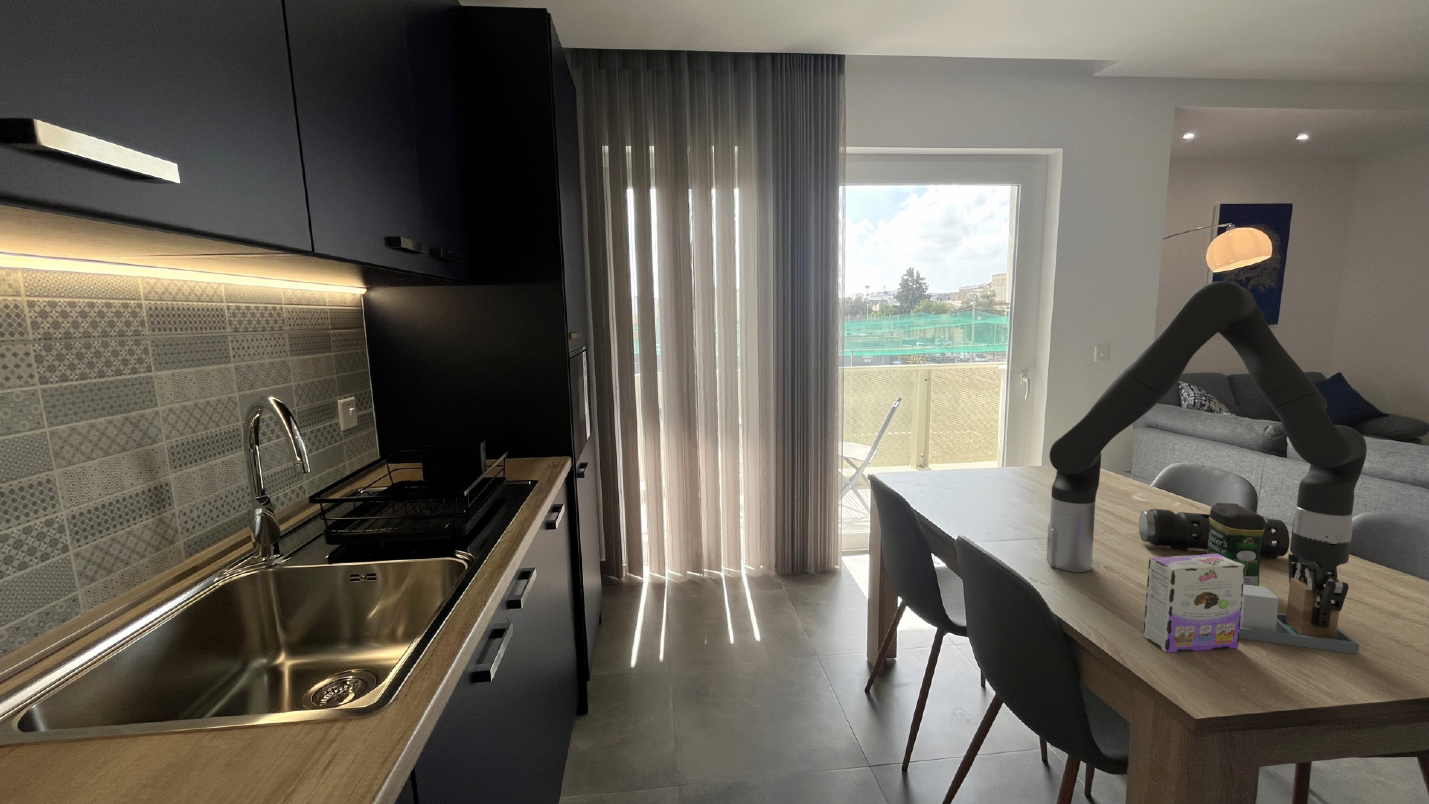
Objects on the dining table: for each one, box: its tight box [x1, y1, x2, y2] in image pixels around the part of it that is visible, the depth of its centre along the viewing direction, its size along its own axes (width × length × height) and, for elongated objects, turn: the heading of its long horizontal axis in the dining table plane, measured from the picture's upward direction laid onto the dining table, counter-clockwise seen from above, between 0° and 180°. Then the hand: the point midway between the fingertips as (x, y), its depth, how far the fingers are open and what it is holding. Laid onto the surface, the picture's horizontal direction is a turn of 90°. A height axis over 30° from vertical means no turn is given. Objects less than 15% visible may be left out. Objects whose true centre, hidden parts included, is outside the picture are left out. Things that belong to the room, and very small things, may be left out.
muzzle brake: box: [1138, 508, 1291, 560], centre depth 147 cm, size 10×28×10 cm, turn 67°
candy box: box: [1143, 554, 1245, 654], centre depth 107 cm, size 14×6×16 cm, turn 92°
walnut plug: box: [1285, 578, 1340, 639], centre depth 108 cm, size 5×5×9 cm
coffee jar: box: [1206, 502, 1265, 586], centre depth 128 cm, size 10×8×19 cm
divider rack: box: [1239, 584, 1360, 655], centre depth 109 cm, size 18×9×8 cm, turn 68°
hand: (1310, 618), depth 108 cm, fingers closed on walnut plug, 5 cm apart
